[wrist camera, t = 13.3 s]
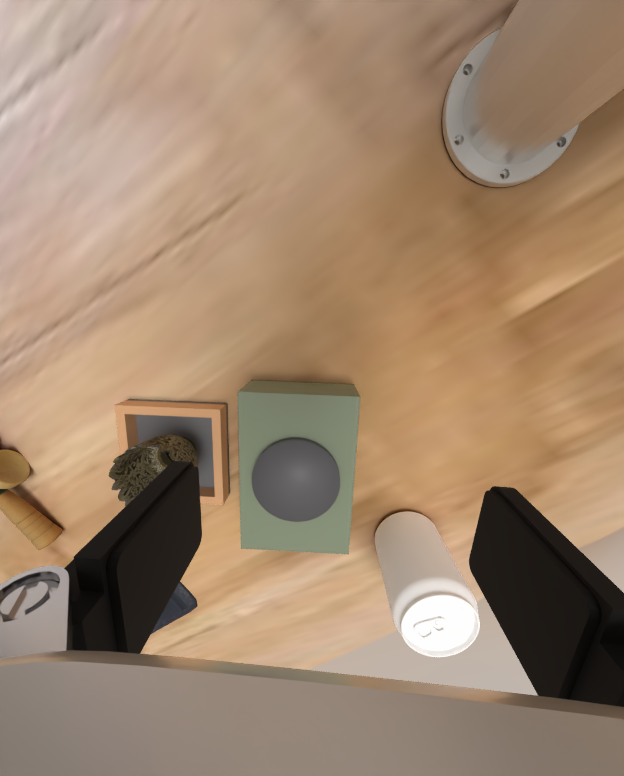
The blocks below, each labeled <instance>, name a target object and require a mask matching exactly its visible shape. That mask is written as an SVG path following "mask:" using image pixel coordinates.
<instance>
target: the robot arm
mask: <svg viewBox="0 0 624 776" xmlns="http://www.w3.org/2000/svg"><path fill="white" fill-rule="evenodd" d="M623 89H624V0H519V1H518V3H517V4H516V6H515V7H514V9H513V11H512V12H511V14H510V16H509V17H508V19H507V20H506V22H505V24H504V25H503V27H502V28H501V29H498V30H496V31H495V32H493V33H491V34H490V35H488V36H487V37H485V38H484V39H482V40H481V41H480V42H479V43H478V44H477V45H476V46H475V47H474V48H473V49H472V50H471V51H470V52H469V54H468V55H467V56H466V57H465V59H464V60H463V61H462V63H461V65H460V67H459V68H458V70H457V72H456V74H455V75H454V77H453V80H452V82H451V84H450V86H449V88H448V91H447V95H446V98H445V102H444V107H443V116H442V125H443V136H444V140H445V144H446V148H447V150H448V152H449V155H450V157H451V159H452V160H453V162H454V163H455V165H456V166H457V168H458V169H459V170H460V171H461V172H462V173H463V174H465V175H466V176H467V177H468V178H470V179H472V180H473V181H475V182H477V183H479V184H483V185H486V186H489V187H508V186H514V185H517V184H520V183H523V182H526V181H528V180H530V179H531V178H533V177H535V176H537V175H538V174H540V173H541V172H543V171H544V170H545V169H547V168H548V167H550V166H551V165H552V164H553V163H554V162H555V161H556V160H557V159H558V158H559V157H560V156H561V155H562V154H563V152H564V151H565V150H566V149H567V147H568V146H569V144H570V143H571V141H572V139H573V137H574V135H575V134H576V132H577V129H578V127H579V124H580V122H581V121H583V120H584V119H585V118H586V117H588V116H589V115H590V114H592V113H593V112H594V111H595V110H597V109H598V108H599V107H601V106H602V105H603V104H605V103H606V102H607V101H608V100H610V99H611V98H612V97H614V96H615V95H616V94H617V93H619V92H620V91H621V90H623ZM455 143H456V144H457V145H456V144H455ZM500 176H501V177H502V178H501V177H500ZM201 537H202V528H201V507H200V486H199V469H198V467H194V464H193V463H192V462H187V461H173V462H172V463H171V464H169V465H168V466H167V467H166V468H165V469H164V470H163V471H162V472H161V473H160V474H159V475H158V476H157V477H156V478H155V479H154V480H153V481H152V482H151V483H150V484H149V485H148V486H147V487H146V488H145V489H144V490H143V491H141V492H140V493H139V494H138V495H137V496H136V497H135V498H134V499H133V500H132V501H131V502H130V503H129V504H128V505H127V506H126V507H125V508H124V509H123V510H122V511H121V512H120V513H119V514H118V515H117V516H116V517H115V518H113V519H112V520H111V521H110V522H109V523H108V524H107V525H106V526H105V527H104V528H103V529H102V530H101V531H100V532H99V533H98V534H97V535H96V536H95V537H94V538H93V539H92V540H91V541H90V542H89V543H88V544H87V545H86V546H84V547H83V548H82V549H81V550H80V551H79V552H78V553H77V554H76V555H75V556H74V560H73V561H72V562H71V563H70V564H68V565H67V566H66V567H65V568H62V567H59V566H42V567H38V568H35V569H31V570H28V571H25V572H23V573H21V574H18V575H16V576H14V577H12V578H10V579H9V580H7V581H5V582H4V583H2V584H0V776H624V593H623V592H622V591H621V590H620V589H619V588H618V587H617V586H616V585H615V584H614V583H613V582H612V581H611V580H610V579H608V577H606V576H605V575H604V574H603V573H602V572H601V571H600V570H599V569H598V568H597V567H596V566H595V565H594V564H593V563H592V562H591V561H590V560H589V559H588V558H587V557H586V556H585V555H584V554H583V553H582V552H580V551H579V550H578V549H577V548H576V547H575V546H574V545H573V544H572V543H571V542H570V541H569V540H568V539H567V538H566V537H565V536H564V535H563V534H562V533H561V532H560V531H559V530H558V529H557V528H556V527H555V526H553V525H552V524H551V523H550V522H549V521H548V520H547V519H546V518H545V517H544V516H543V515H542V514H541V513H540V512H539V511H538V510H537V509H536V508H535V507H534V506H533V505H532V504H531V503H530V502H529V501H527V500H526V499H525V498H524V497H523V496H522V495H521V494H520V493H519V492H518V491H517V490H516V489H514V488H509V487H496V486H494V487H492V488H491V489H490V491H486V492H485V495H484V499H483V503H482V507H481V512H480V516H479V520H478V524H477V528H476V533H475V537H474V541H473V545H472V550H471V554H470V558H469V565H470V570H471V572H472V574H473V576H474V578H475V580H476V582H477V583H478V585H479V587H480V589H481V591H482V593H483V594H484V596H485V598H486V600H487V602H488V603H489V605H490V607H491V609H492V611H493V613H494V615H495V617H496V618H497V620H498V622H499V624H500V626H501V628H502V629H503V631H504V633H505V635H506V637H507V639H508V640H509V642H510V644H511V646H512V648H513V650H514V651H515V653H516V655H517V657H518V659H519V661H520V663H521V664H522V666H523V668H524V670H525V672H526V674H527V676H528V678H529V679H530V681H531V683H532V685H533V687H534V689H535V690H536V692H537V694H538V696H534V695H526V694H517V693H508V692H499V691H491V690H481V689H474V688H465V687H456V686H448V685H439V684H430V683H421V682H411V681H403V680H393V679H383V678H375V677H366V676H357V675H347V674H338V673H329V672H320V671H310V670H301V669H292V668H282V667H272V666H262V665H252V664H243V663H233V662H223V661H213V660H203V659H193V658H184V657H172V656H160V655H148V654H140V653H141V651H142V649H143V647H144V645H145V643H146V642H147V640H148V638H149V636H150V634H151V633H152V631H153V629H154V627H155V625H156V624H157V622H158V620H159V618H160V616H161V614H162V613H163V611H164V609H165V607H166V605H167V604H168V602H169V600H170V598H171V596H172V595H173V593H174V591H175V589H176V587H177V585H178V584H179V582H180V580H181V578H182V576H183V575H184V573H185V571H186V569H187V567H188V566H189V564H190V562H191V560H192V558H193V557H194V555H195V553H196V551H197V549H198V547H199V545H200V542H201Z"/></svg>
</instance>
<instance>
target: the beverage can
mask: <svg viewBox="0 0 624 776" xmlns="http://www.w3.org/2000/svg"><path fill="white" fill-rule="evenodd" d="M375 547H376V551H377V555H378V559H379V563H380V568H381V572H382V576H383V580H384V584H385V588H386V593H387V597H388V601H389V605H390V609H391V613H392V617H393V621H394V624H395V626H396V628H397V630H398V631H399V632H400V634H401V635H402V636H403V638H404V640H405V642H406V643H407V644H408V645H409V646H410V647H411V648H412V649H413V650H415V651H416V652H418V653H420V654H423V655H426V656H431V657H446V656H451V655H454V654H457V653H459V652H461V651H463V650H465V649H466V648H467V647H468V646H470V644H472V643H473V641H474V640H475V639H476V637H477V635H478V632H479V628H480V621H479V617H478V608H477V603H476V600H475V598H474V596H473V594H472V592H471V590H470V588H469V587H468V585H467V583H466V581H465V579H464V578H463V576H462V574H461V572H460V570H459V569H458V567H457V565H456V563H455V561H454V560H453V558H452V556H451V554H450V552H449V551H448V549H447V547H446V545H445V543H444V542H443V540H442V538H441V536H440V534H439V533H438V531H437V529H436V527H435V525H434V524H433V523H432V521H431V520H429V519H428V518H427V517H425V516H424V515H422V514H419V513H416V512H409V511H405V512H399V513H395V514H393V515H391V516H389V517H387V518H386V519H385V520H383V521H382V523H381V524H380V525H379V526H378V528H377V530H376V533H375Z"/></svg>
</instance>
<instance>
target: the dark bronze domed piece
mask: <svg viewBox="0 0 624 776" xmlns="http://www.w3.org/2000/svg"><path fill="white" fill-rule="evenodd" d="M173 461H187V462H192V463H193V464H194V467H198V455H197V452H196V447H195V444H194V443H193V442H192V441H191V440H190V439H188V438H186V437H181V436H178V435H172V434H166V435H160V436H156V437H153V438H151V439H148V440H146V441H144V442H142V443H140V444H137V445H135V446H133V447H131V448H128V449H127V450H126V451H125V452H124V453H123V454H122V455H120V456H118V457H117V458H116V459H115V460H114V461H113V463H115V464H114V465H113V467H112V468H111V470H110V472H109V477H110V478H112V479H114V480H115V483H114V484H113V486H112V490H118V489H119V488H120V489H121V488H122V489H121V490H120V492H119V495H118V499H119V500H120V501H125V502H126V503H125V507H126V506H127V505H128V504H129V503H130V502H131V501H132V500H133V499H134V498H135V497H136V496H137V495H138V494H139V493H140V492H141V491H143V490H144V489H145V488H146V487H147V486H148V485H149V484H150V483H151V482H152V481H153V480H154V479H155V478H156V477H157V476H158V475H159V474H160V473H161V472H162V471H163V470H164V469H165V468H166V467H167V466H168V465H169V464H171V463H172V462H173Z"/></svg>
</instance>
